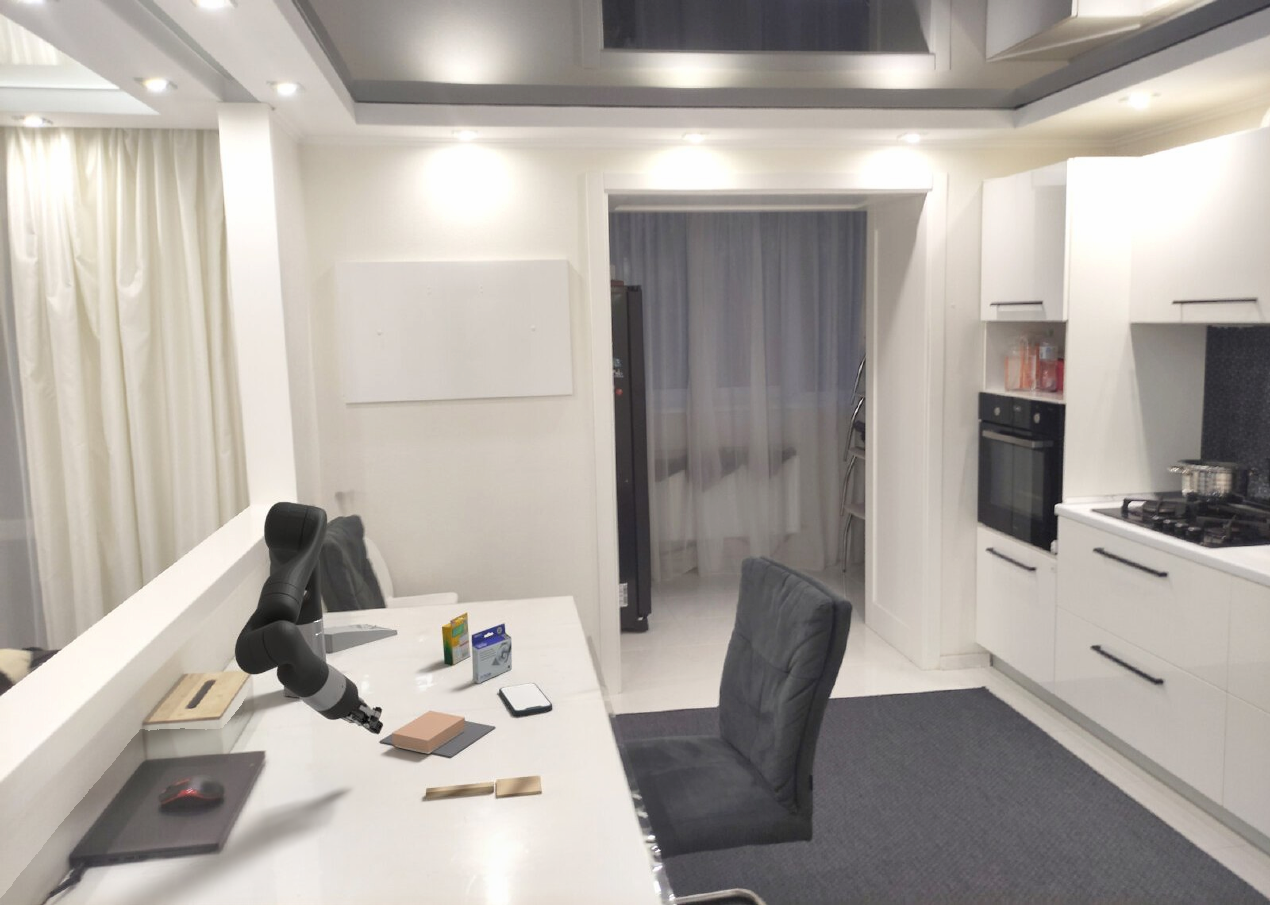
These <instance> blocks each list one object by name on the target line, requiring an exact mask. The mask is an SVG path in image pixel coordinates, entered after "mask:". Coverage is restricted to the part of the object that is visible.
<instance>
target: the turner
mask: <svg viewBox="0 0 1270 905" xmlns="http://www.w3.org/2000/svg"><path fill="white" fill-rule="evenodd" d="M494 784H495V783H494V781H490V782H489V781H488V782H478V783H477V782H476V783H467V784H466V783H465V784H456V785H448V786H439V787H438V786H436V787H427V788H426V790H425V799H427V800H428V799H438V798H447V797H448V798H449V797H456V796H458V797H460V796H469V795H479V794H487V793H488V794H489V793H495V785H494ZM542 788H543V787H542V781H541V775H531V776H530V775H529V776H520V777H510V778H500V779H496V798H497V799H499V798H507V797H517V796H528V795H537V794H542V793H543V790H542Z"/></svg>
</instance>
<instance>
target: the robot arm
mask: <svg viewBox="0 0 1270 905" xmlns="http://www.w3.org/2000/svg"><path fill="white" fill-rule="evenodd" d="M263 527H264V528H263V534H264V542H265V544H266V546H267V548H268V555H269V561H270V565H269V576H268V577H267V579H266V580H265V582H264V583H263V585H262V589H261V592H260V596H259V597H258V598H259V599H258V602H257V605H256V609H255V610H254V612H253V613H252V614H251V615H250V617H249V618H248V620H247V622H246V623H245V624H244V626H243V628H242V629H241V630H240V632H239V634H238V636H237V639H236V641H235V642H236V643H235V645H234V647H235V648H234V657H235V662H236V663H237V666H238V667H239V669H241V670H242V671H243V672H244V673H246V674H249V675H260V674H263V673H266V672H268V671H271V670H273V669H276V678H277V680H278V681H279V683H280V684H281V685H282V686H283V690H284V691H283V693H284V694H283V695H284V697H291V698H299V699H300V700H301V701H302V702H303V703H304V704H306V705H307V706H309V707H310V708H311V709H313V710H314V711H315V712H317V713H318V714H320V715H321V716H322V717H324V718H326V719H327V720H330V721H331V720H332V721H336V720H340V719H341V720H343V721H346V722H347V723H349V724H356V725H357V726H358V727H363V728H364V729H366V730H367V731H368V732H370V733H371V734H375V735H379V734H381V731H382V729H383V727H384V723H383V722H382V721H380V718H381V715H382V711H383V709H382V708H381V707H379V706H375V707H370V706H369V705H368V704H367V703H366V702H365V700H364V699H363V698H362V697H360V696H359V689H358V686H357V685H356V683H354V682H353V681H352V680H351V679H349V678H348V677H347V676H346V675H344V674H343V673H342V672H341V671H340V670H338V669H337V667H334V666H333V665H331V664H329V663H327V652H326V651H325V639H324V628H325V627H324V617H323V616H324V615H323V605H322V593H321V592H322V591H321V590H322V589H321V562H320V557H319V556H320V554H321V552H322V551H321V550H322V548H323V545H324V542H325V538H326V534H327V528H328V514H327V512H326V510H325V509H324V508H321V507H318V506H314V505H310V504H309V505H308V504H302V503H297V502H290V501H278V502H276V503H274V504H273V505H272V506H271V507H270V508H269V510H268V512H267V514H266V516H265V520H264V526H263ZM371 708H372V709H371Z"/></svg>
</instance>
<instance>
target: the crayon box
mask: <svg viewBox="0 0 1270 905" xmlns="http://www.w3.org/2000/svg"><path fill="white" fill-rule="evenodd" d="M468 620H469V618H468V612H465V613H463V614H461V615H458V616H456V617H455V618H452V619H451V620H450V622H449V623H447V624H445V625H443V626H441V632H442V634H441V635H442V646H443V660H444V661H443V662H444V664H445V665H448V666H455V665H457V664H458V663H460V662H462V661H464V660H465V659H467V658H469V657H471V649H470V635H469V621H468Z"/></svg>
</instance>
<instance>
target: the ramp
mask: <svg viewBox="0 0 1270 905" xmlns="http://www.w3.org/2000/svg"><path fill="white" fill-rule="evenodd" d="M398 634H399V633H398V630H397V629H392V628H390V627H389V628H388V627H384V626H383V627H382V626H378V625H376V624H375V625H372V624H368V623H358V624H357V623H355V624H346V625H337V626H330V627H324V639H325V651H326V653H331V654H335V653H338V652H342V651H345V650H349V649H352V648H356V647H359V646H363V645H366V644H369V643H373V642H377V641H380V640H383V639H387V638H391V637H393V636H398Z"/></svg>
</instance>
